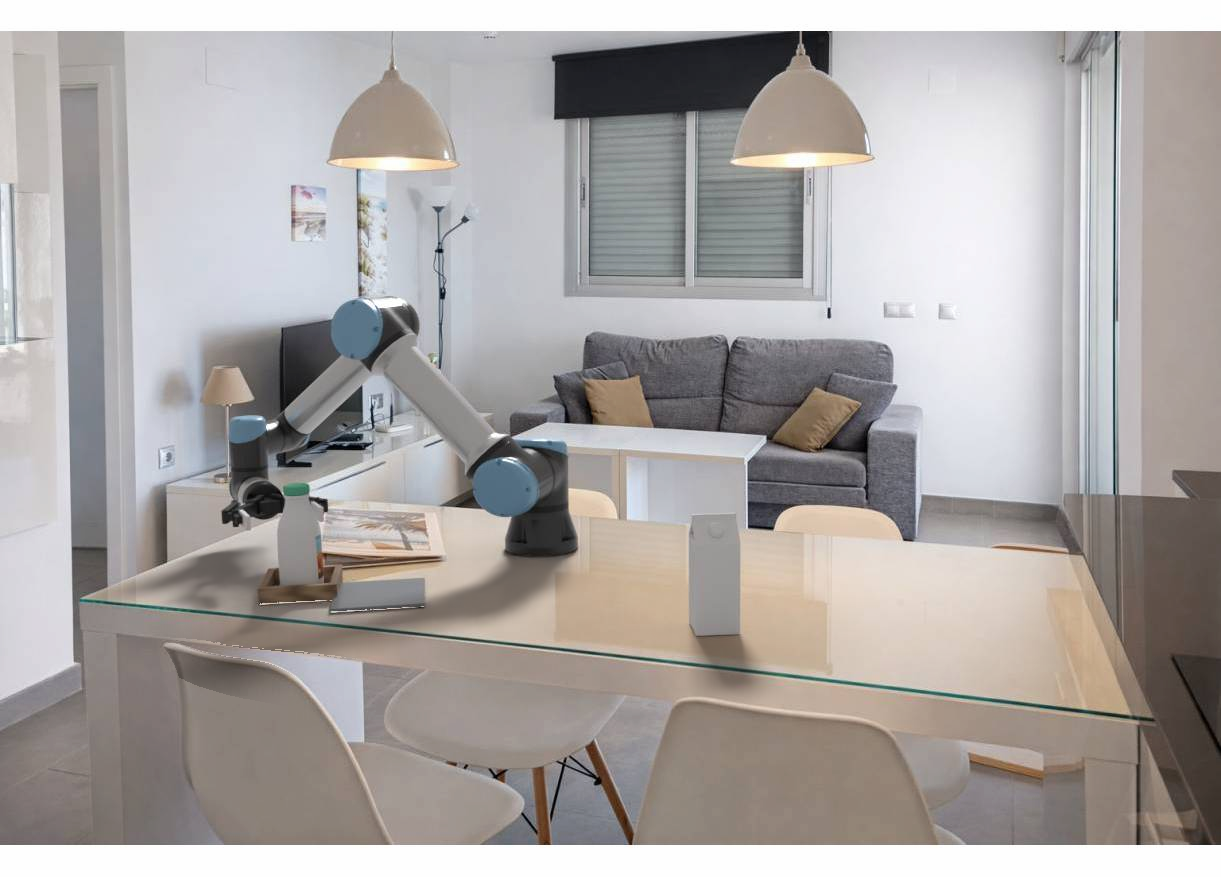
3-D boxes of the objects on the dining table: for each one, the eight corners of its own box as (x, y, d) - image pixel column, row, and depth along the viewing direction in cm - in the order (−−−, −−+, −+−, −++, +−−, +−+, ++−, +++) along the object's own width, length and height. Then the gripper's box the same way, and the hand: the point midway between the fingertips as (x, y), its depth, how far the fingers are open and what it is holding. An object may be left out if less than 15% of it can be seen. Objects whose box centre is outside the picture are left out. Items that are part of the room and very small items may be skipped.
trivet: (424, 581, 207) (424, 577, 207) (424, 607, 192) (424, 603, 192) (337, 587, 205) (337, 582, 205) (330, 613, 189) (329, 609, 189)
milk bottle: (312, 599, 198) (306, 489, 194) (272, 597, 199) (265, 488, 196) (331, 587, 205) (325, 480, 202) (293, 585, 207) (286, 479, 203)
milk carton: (688, 622, 182) (688, 509, 179) (731, 620, 183) (731, 508, 180) (695, 637, 175) (695, 519, 172) (740, 635, 176) (740, 518, 173)
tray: (342, 579, 210) (342, 564, 209) (337, 600, 197) (336, 584, 196) (269, 584, 207) (268, 568, 207) (259, 605, 194) (258, 589, 194)
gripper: (322, 509, 233) (351, 530, 215) (198, 523, 221) (217, 547, 203) (320, 474, 232) (350, 492, 214) (195, 486, 220) (215, 507, 202)
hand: (285, 519), depth 209 cm, fingers open, 13 cm apart
